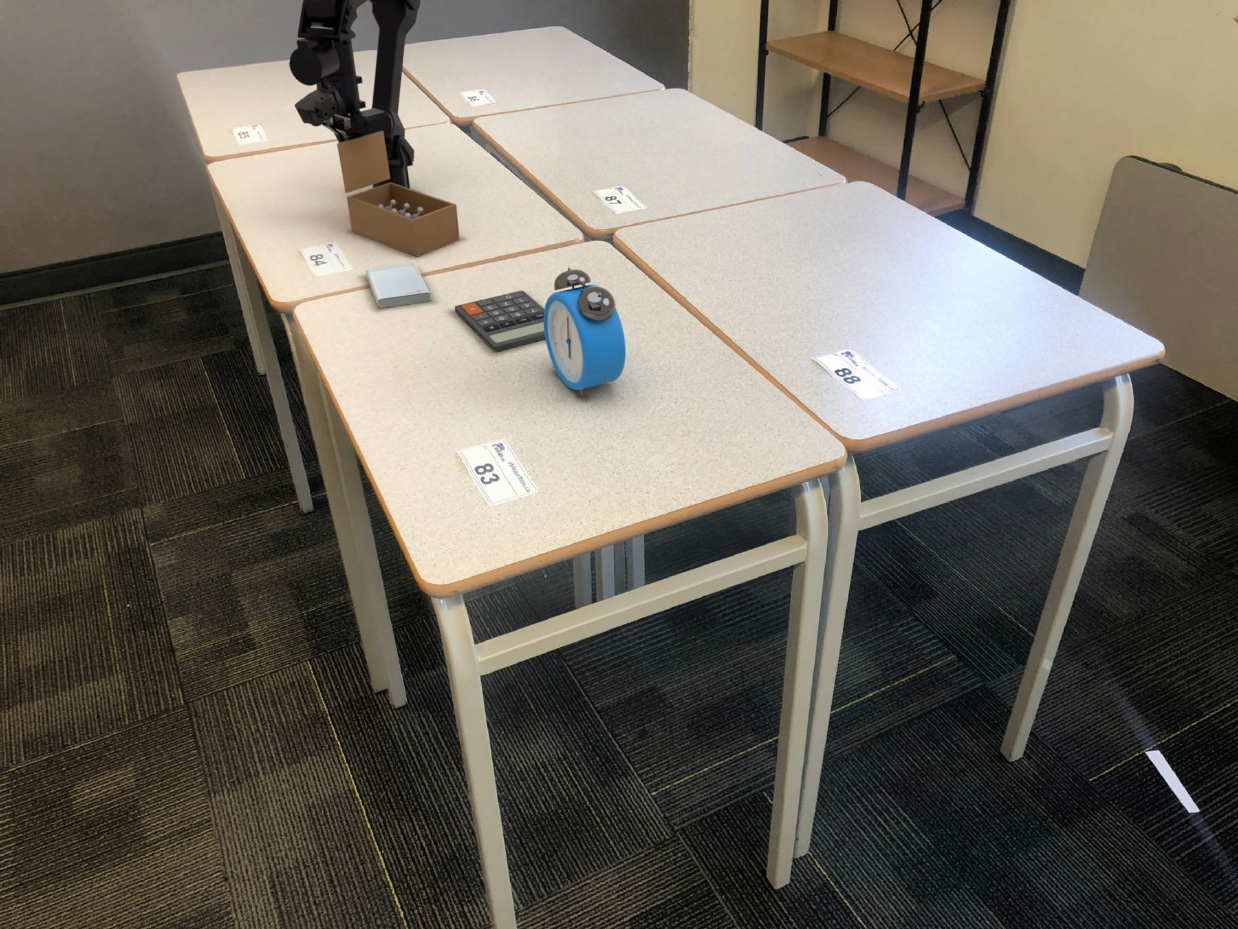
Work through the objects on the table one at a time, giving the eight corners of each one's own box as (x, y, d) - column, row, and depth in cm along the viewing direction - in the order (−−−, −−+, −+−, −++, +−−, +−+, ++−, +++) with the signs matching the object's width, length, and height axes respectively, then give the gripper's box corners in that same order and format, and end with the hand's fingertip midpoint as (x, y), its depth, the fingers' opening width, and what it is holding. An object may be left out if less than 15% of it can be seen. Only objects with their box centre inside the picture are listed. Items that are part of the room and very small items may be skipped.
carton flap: (346, 193, 168) (345, 192, 168) (390, 178, 174) (389, 178, 174) (338, 143, 163) (336, 143, 163) (383, 130, 169) (381, 130, 169)
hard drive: (430, 291, 148) (415, 260, 158) (377, 299, 146) (365, 267, 155) (431, 301, 149) (416, 270, 159) (378, 309, 147) (366, 276, 156)
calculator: (522, 289, 151) (566, 327, 140) (522, 294, 151) (566, 332, 141) (453, 305, 146) (494, 345, 135) (454, 310, 146) (494, 351, 136)
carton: (352, 231, 172) (346, 196, 168) (394, 216, 178) (390, 182, 175) (417, 256, 163) (412, 220, 159) (459, 239, 170) (456, 204, 166)
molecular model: (441, 238, 168) (438, 211, 166) (422, 245, 166) (419, 218, 163) (392, 219, 176) (389, 193, 173) (374, 225, 173) (370, 199, 170)
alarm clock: (543, 365, 133) (539, 265, 124) (583, 355, 136) (581, 256, 127) (586, 409, 124) (585, 304, 115) (627, 397, 126) (629, 294, 118)
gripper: (265, 70, 161) (283, 162, 170) (333, 89, 152) (348, 186, 161) (319, 59, 168) (334, 148, 177) (388, 76, 159) (399, 169, 168)
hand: (352, 162), depth 171 cm, fingers closed
